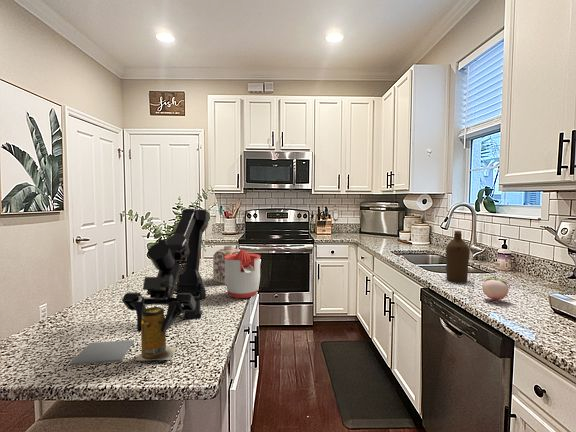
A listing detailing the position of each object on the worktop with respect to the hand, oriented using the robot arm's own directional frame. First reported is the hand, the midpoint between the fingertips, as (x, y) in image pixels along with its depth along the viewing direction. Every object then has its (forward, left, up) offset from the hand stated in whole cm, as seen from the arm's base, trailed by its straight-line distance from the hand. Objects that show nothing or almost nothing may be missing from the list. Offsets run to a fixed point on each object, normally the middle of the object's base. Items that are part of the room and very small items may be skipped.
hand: (150, 331), depth 87 cm
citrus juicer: (-54, +25, -8) cm, 60 cm away
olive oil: (-64, +132, -8) cm, 147 cm away
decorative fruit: (-30, +125, -8) cm, 129 cm away
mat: (-6, -14, -7) cm, 17 cm away
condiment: (-1, +1, -7) cm, 7 cm away
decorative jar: (-81, +18, -8) cm, 84 cm away
